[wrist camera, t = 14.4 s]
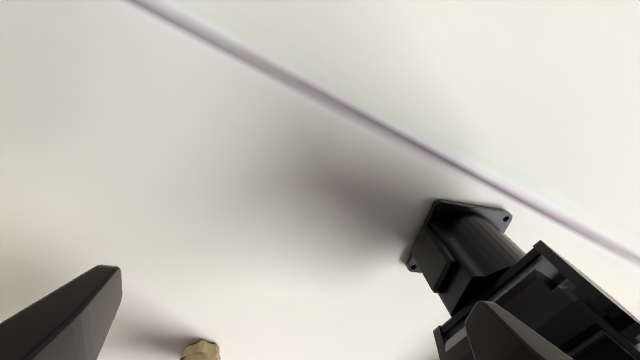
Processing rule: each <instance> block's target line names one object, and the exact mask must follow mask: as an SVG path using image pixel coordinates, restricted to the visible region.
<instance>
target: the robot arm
mask: <svg viewBox="0 0 640 360" xmlns="http://www.w3.org/2000/svg"><path fill="white" fill-rule="evenodd" d="M439 206H441V208H438V207H439ZM504 217H505V218H504ZM511 220H512V215H511V214H510V213H509V212H508V211H506V210H500V209H494V208H488V207H482V206H476V205H470V204H464V203H458V202H452V201H446V200H437V201H435V202H434V203H433V205H432V207H431V209H430V211H429V213H428V216H427V218H426V220H425V222H424V225H423V226H422V227H421V230H420V232H419V234H418V236H417V238H416V241H415V243H414V245H413V247H412V250H411V253H410V256H409V258H408V260H407V262H406V267H407V269H408V270H409V271H411V272H418V273H423V275H424V277H425V279H426V280H427V282H428V284H429V286H430V288H431V289H432V291H433V292H434V293H438V295H439V296H440V298H441V300H442V302H443V303H444V305H445V307H446V309H447V310H448V312H449V314H450V315H451V318H450V319H449V320H448V321H447V322H445V323H444V324H443V325H442V326H438V327H437V328H436V329H435V330H434V331H433V333H434V337H435V341H436V345H437V349H438V353H439V357H440V360H640V321H639V320H638V319H637V318H636V317H635V316H633V315H632V314H631V313H630V312H629V311H628V310H627V309H625V308H624V307H623V306H622V305H621V304H620V303H619V302H618V301H616V300H615V299H614V298H613V297H612V296H610V295H609V294H608V293H607V292H605V291H604V290H603V289H602V288H601V287H599V286H598V285H597V284H596V283H594V282H593V281H592V280H591V279H590V278H588V277H587V276H586V275H585V274H583V273H582V272H581V271H580V270H578V269H577V268H576V267H575V266H573V265H572V264H571V263H569V262H568V261H567V260H566V259H564V258H563V257H562V256H560V255H559V254H558V253H557V252H555V251H554V250H553V249H551V248H550V247H549V246H548V245H546V244H545V243H544V242H542V241H541V240H540V241H538V242H537V243H536V244H535V245H534V246H533V247H534V248H533V249H532V250H531V251H529V252H528V253H527V254H525V253H524V252H523V251H522V250H521V249H520V248H519V247H518V246H517V245H516V244H515V243H514V242H513V241H512V240H511V239H510V238H508V237H507V236H506V235H505V234H504V232H505V230H506V228H507V227H508V225H509V223H510V222H511ZM412 265H413V266H412ZM121 298H122V280H121V270H120V268H119V267H117V266H109V265H98V266H95V267H94V268H92V269H90V270H89V271H87V272H85V273H84V274H82V275H80V276H79V277H77V278H75V279H73V280H72V281H70V282H68V283H67V284H65V285H63V286H62V287H60V288H58V289H57V290H55V291H53V292H52V293H50V294H48V295H47V296H45V297H43V298H42V299H40V300H38V301H37V302H35V303H33V304H32V305H30V306H28V307H27V308H25V309H23V310H22V311H20V312H18V313H17V314H15V315H13V316H12V317H10V318H8V319H7V320H5V321H3V322H2V323H0V360H97V357H98V355H99V352H100V350H101V348H102V345H103V343H104V341H105V338H106V336H107V334H108V331H109V329H110V326H111V324H112V322H113V319H114V317H115V315H116V312H117V310H118V308H119V305H120V302H121Z"/></svg>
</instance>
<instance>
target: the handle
mask: <svg viewBox="0 0 640 360" xmlns="http://www.w3.org/2000/svg"><path fill="white" fill-rule="evenodd" d="M180 360H220V355H219V347H218V346H217V345H216V344H210V343H208V342H206V341H204V340H202V341H200V342H198V343H196V344H193V345H188V346H187V347H186V348H185V349H184V351H183V353H182V355H181V357H180Z"/></svg>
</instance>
